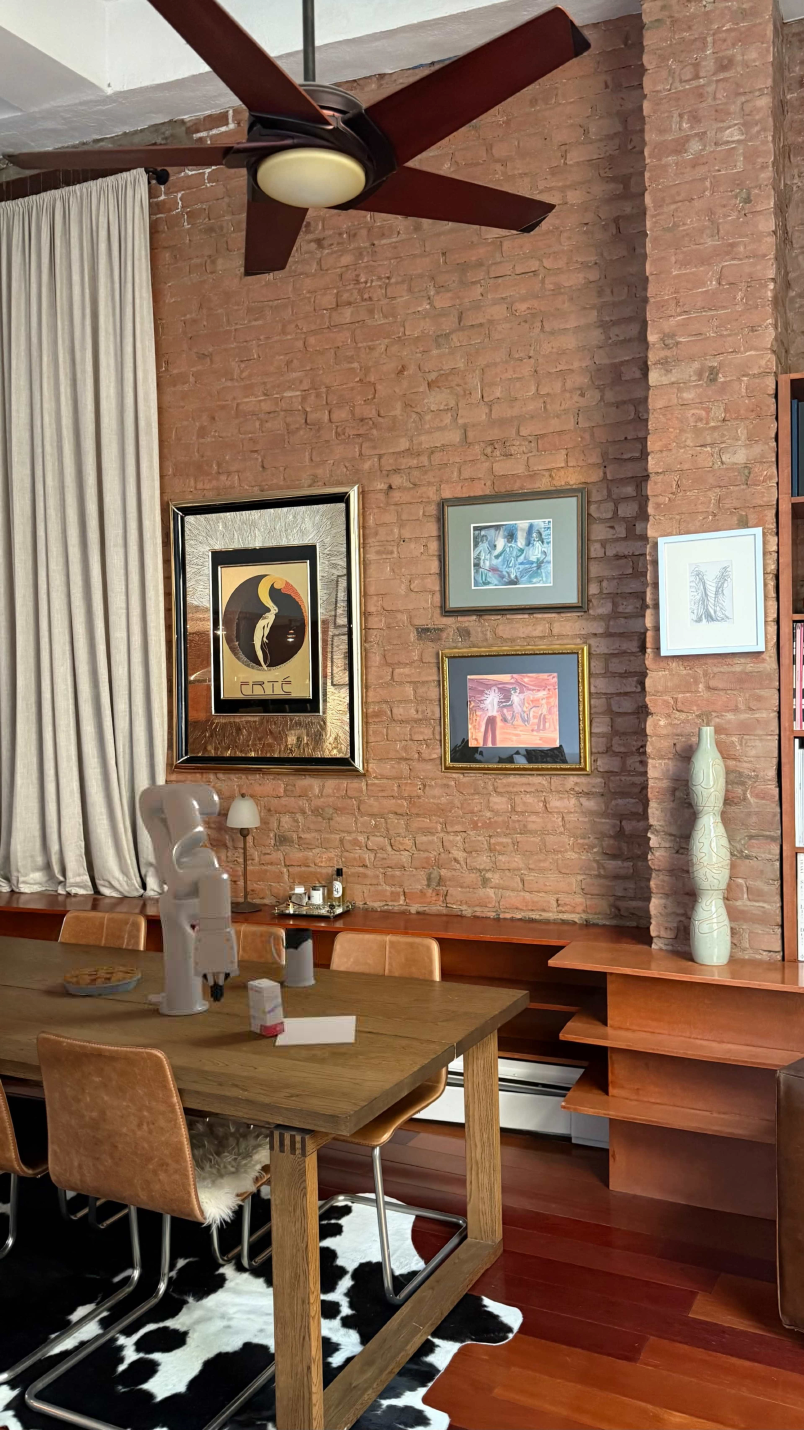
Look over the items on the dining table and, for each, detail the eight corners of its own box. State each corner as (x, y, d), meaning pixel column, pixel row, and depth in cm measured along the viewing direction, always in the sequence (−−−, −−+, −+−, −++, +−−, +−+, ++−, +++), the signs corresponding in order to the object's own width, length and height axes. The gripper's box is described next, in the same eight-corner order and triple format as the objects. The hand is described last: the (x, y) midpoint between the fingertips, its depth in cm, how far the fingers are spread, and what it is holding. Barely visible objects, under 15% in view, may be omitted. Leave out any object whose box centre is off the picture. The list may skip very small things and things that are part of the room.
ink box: (285, 1033, 258) (281, 983, 258) (266, 1038, 256) (262, 987, 256) (269, 1026, 266) (265, 977, 266) (250, 1030, 263) (246, 981, 263)
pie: (138, 976, 325) (138, 959, 325) (145, 992, 304) (144, 974, 304) (61, 983, 318) (61, 966, 318) (63, 1001, 297) (62, 983, 297)
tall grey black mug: (302, 988, 303) (301, 934, 303) (262, 983, 311) (261, 930, 311) (321, 981, 311) (319, 928, 311) (281, 976, 318) (280, 925, 318)
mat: (275, 1046, 250) (275, 1044, 250) (283, 1019, 272) (283, 1018, 272) (354, 1043, 250) (354, 1041, 250) (355, 1017, 272) (355, 1015, 272)
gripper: (180, 927, 256) (183, 1006, 256) (244, 925, 257) (247, 1003, 257) (186, 921, 264) (188, 997, 264) (248, 919, 264) (250, 995, 264)
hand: (217, 1000), depth 260 cm, fingers closed
